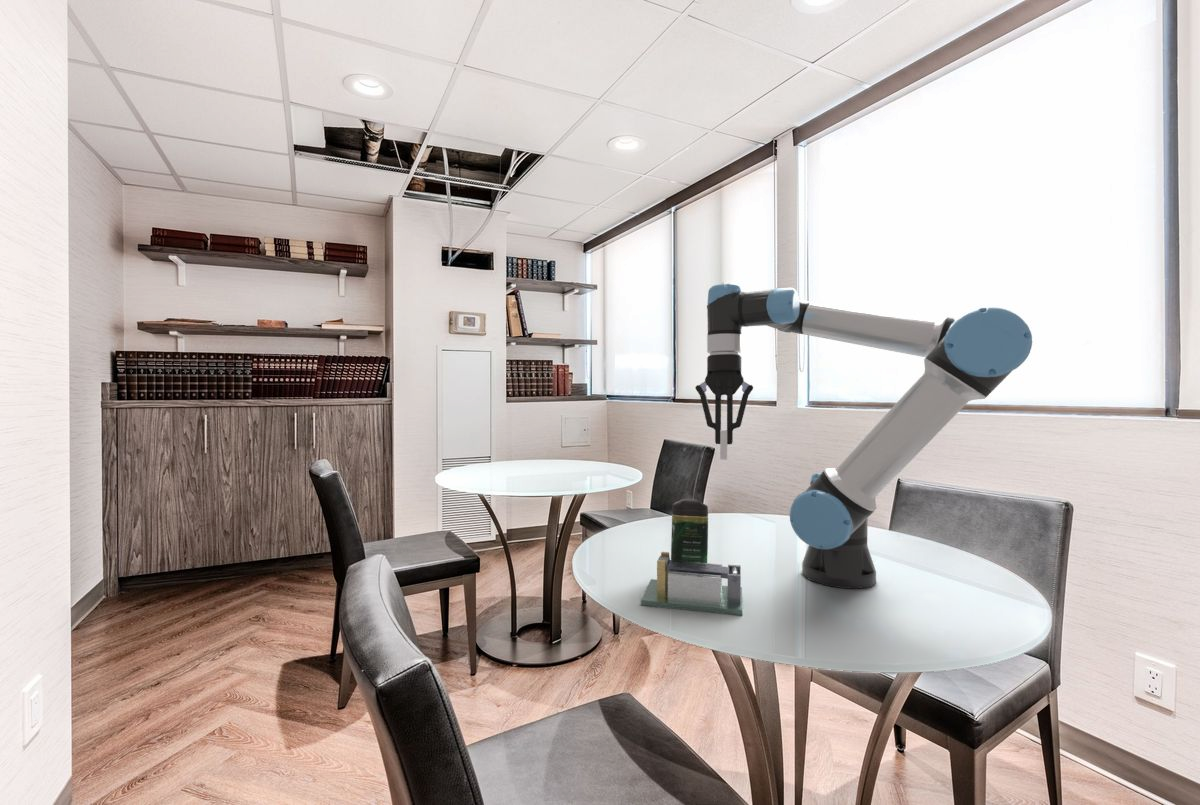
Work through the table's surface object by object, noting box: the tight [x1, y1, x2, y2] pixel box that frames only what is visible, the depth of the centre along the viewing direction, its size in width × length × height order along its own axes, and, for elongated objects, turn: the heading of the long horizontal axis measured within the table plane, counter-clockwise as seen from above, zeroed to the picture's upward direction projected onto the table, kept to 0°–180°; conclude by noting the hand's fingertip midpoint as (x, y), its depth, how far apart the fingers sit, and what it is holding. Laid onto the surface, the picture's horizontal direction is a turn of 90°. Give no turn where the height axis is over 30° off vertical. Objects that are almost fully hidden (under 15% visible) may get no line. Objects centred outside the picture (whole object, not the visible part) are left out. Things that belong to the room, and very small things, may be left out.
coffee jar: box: [670, 497, 709, 563], centre depth 117 cm, size 10×8×19 cm
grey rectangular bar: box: [657, 555, 729, 580], centre depth 107 cm, size 14×4×2 cm, turn 75°
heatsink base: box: [640, 551, 743, 616], centre depth 107 cm, size 19×12×8 cm, turn 75°
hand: (723, 458), depth 121 cm, fingers closed
